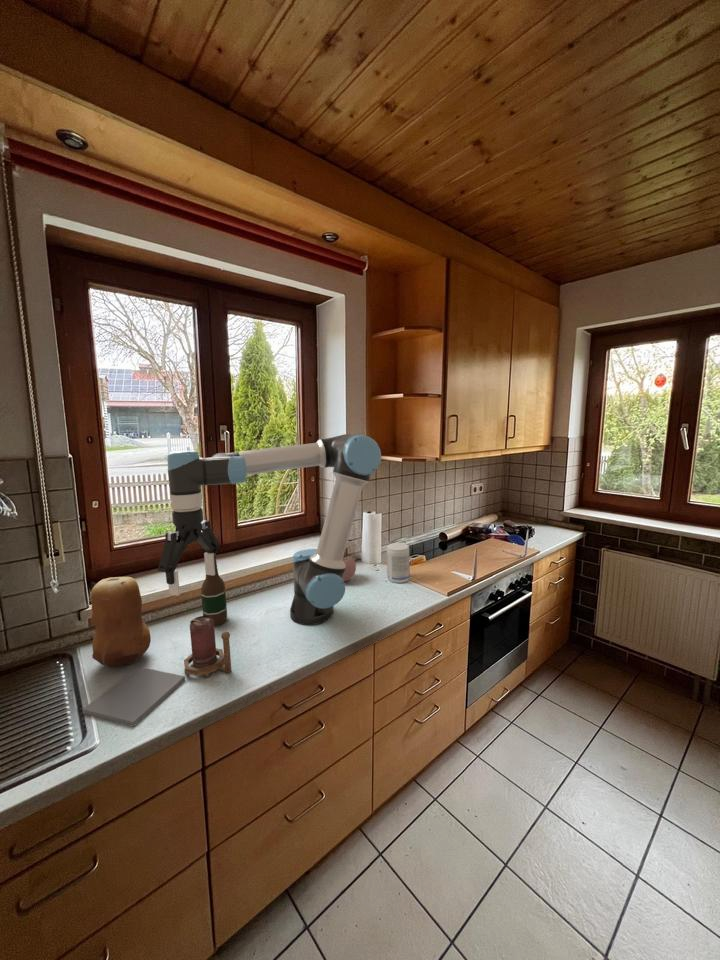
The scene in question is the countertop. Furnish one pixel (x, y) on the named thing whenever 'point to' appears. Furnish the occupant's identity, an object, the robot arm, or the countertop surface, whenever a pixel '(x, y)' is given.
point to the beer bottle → (214, 598)
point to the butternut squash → (118, 622)
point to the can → (203, 641)
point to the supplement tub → (398, 562)
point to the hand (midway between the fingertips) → (193, 584)
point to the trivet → (134, 696)
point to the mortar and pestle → (349, 569)
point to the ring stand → (217, 664)
